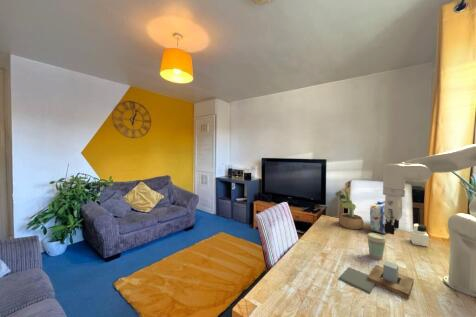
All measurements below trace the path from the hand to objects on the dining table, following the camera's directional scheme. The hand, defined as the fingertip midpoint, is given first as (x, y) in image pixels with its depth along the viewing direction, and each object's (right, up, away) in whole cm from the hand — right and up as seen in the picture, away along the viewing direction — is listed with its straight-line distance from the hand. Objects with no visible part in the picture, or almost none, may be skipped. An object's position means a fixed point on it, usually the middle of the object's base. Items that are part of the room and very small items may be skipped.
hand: (391, 230), depth 86 cm
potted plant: (+18, -21, +65) cm, 71 cm away
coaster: (-13, -23, +2) cm, 27 cm away
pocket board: (0, -24, +1) cm, 24 cm away
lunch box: (+40, -22, +58) cm, 74 cm away
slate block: (0, -24, +1) cm, 24 cm away
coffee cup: (+8, -23, +22) cm, 33 cm away
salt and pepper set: (+48, -23, +38) cm, 65 cm away
